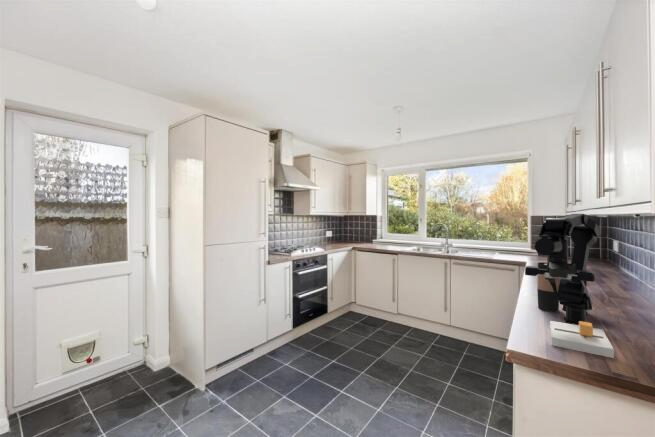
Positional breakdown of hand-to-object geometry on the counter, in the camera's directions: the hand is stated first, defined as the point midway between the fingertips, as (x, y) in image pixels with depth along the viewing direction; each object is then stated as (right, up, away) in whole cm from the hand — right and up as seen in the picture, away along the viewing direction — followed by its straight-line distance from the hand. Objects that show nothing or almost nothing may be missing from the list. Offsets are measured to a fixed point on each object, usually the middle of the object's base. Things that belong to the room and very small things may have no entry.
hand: (557, 297), depth 101 cm
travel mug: (+16, -12, +24) cm, 32 cm away
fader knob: (+2, -9, -9) cm, 13 cm away
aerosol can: (+25, -12, +22) cm, 35 cm away
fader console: (0, -12, -8) cm, 14 cm away
